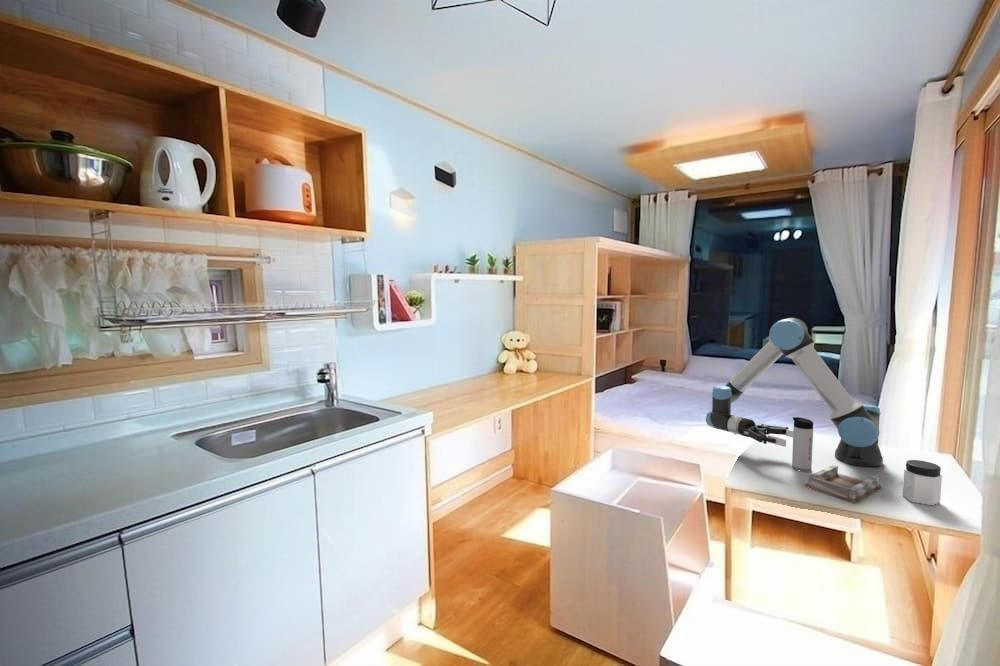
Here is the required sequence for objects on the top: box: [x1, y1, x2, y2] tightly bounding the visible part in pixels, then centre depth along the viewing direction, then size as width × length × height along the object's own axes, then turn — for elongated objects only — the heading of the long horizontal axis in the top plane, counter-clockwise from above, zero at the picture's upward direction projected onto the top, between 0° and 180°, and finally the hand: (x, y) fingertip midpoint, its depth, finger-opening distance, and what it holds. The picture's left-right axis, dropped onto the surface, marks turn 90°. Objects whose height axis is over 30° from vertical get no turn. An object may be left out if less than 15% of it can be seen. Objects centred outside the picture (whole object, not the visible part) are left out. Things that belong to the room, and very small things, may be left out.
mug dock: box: [804, 464, 883, 504], centre depth 156 cm, size 20×15×4 cm
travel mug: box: [791, 416, 814, 472], centre depth 172 cm, size 6×7×20 cm
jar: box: [902, 459, 943, 506], centre depth 146 cm, size 9×8×12 cm
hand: (795, 439), depth 174 cm, fingers open, 13 cm apart
